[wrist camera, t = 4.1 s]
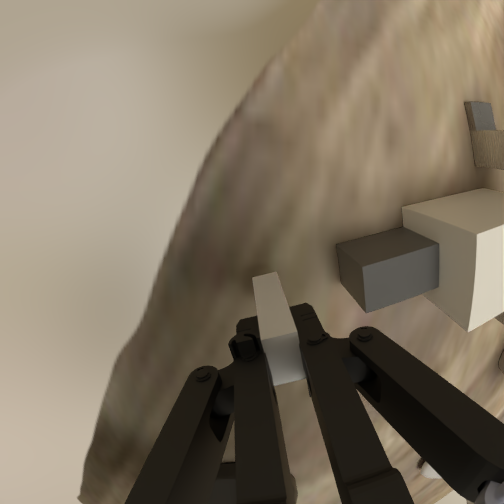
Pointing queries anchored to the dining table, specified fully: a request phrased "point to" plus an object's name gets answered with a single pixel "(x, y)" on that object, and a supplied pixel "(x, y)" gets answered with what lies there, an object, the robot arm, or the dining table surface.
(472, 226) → the plug
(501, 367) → the coffee cup
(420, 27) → the dining table surface
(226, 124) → the dining table surface
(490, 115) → the bar
